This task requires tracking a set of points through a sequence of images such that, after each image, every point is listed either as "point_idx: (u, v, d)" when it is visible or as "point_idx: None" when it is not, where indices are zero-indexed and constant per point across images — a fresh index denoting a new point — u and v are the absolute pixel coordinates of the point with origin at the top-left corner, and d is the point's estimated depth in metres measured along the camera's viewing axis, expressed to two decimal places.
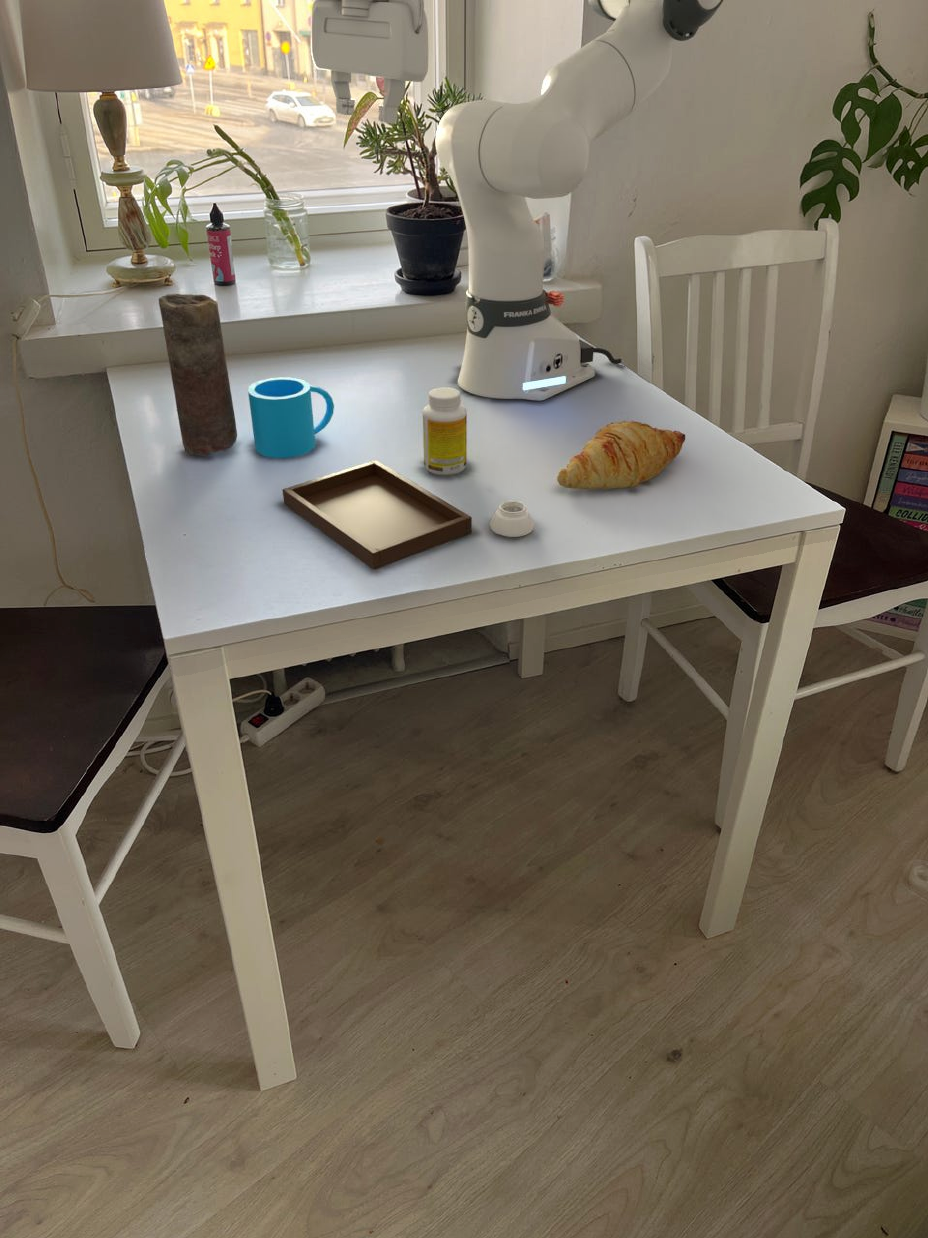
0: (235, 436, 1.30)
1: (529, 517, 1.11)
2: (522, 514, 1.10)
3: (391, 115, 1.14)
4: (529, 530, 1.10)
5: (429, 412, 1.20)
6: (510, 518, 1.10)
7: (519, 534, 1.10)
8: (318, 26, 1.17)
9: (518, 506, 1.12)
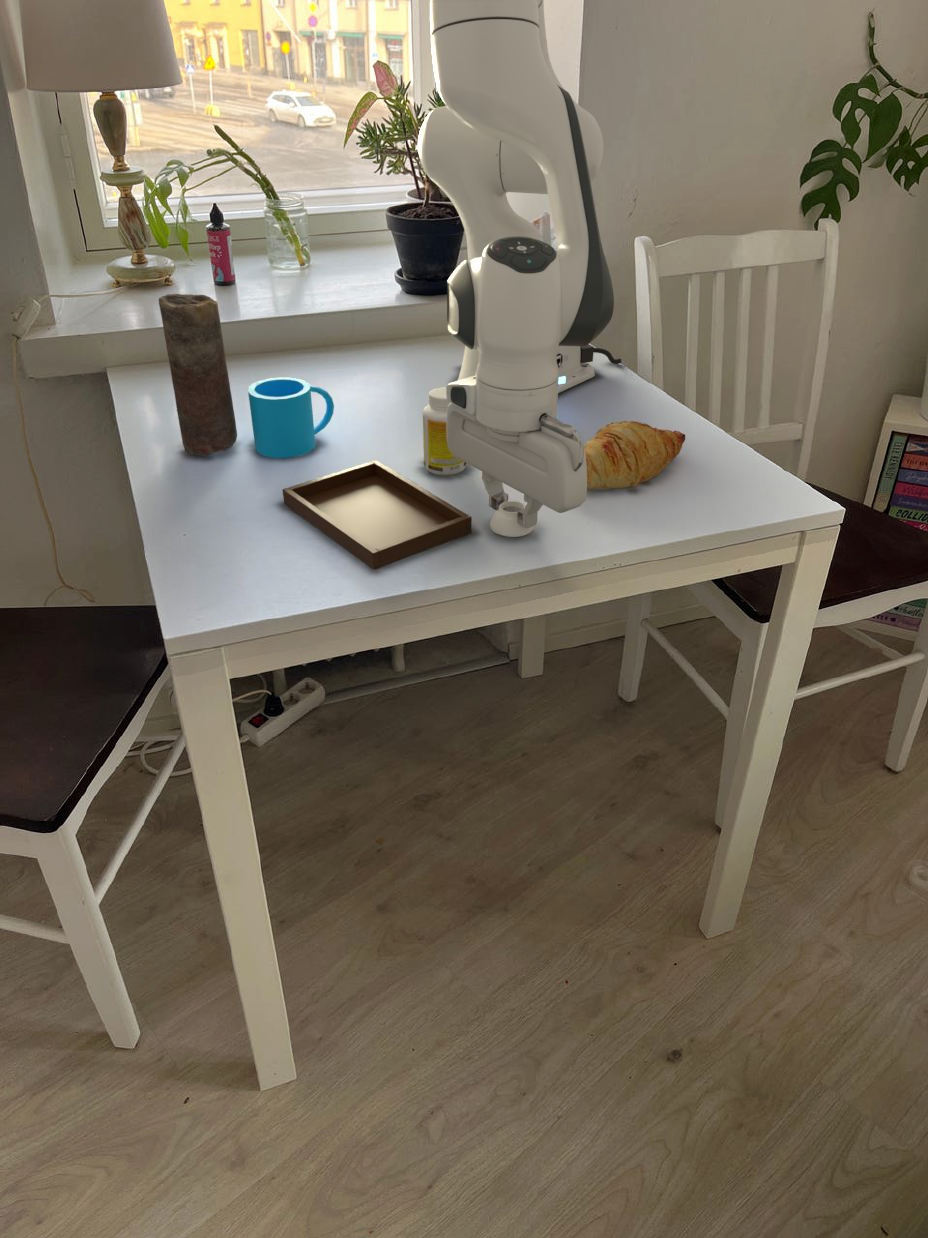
0: (235, 436, 1.30)
1: None
2: None
3: (531, 520, 1.09)
4: (529, 530, 1.10)
5: (429, 412, 1.20)
6: (510, 518, 1.10)
7: (519, 534, 1.10)
8: (455, 424, 1.10)
9: (518, 506, 1.12)
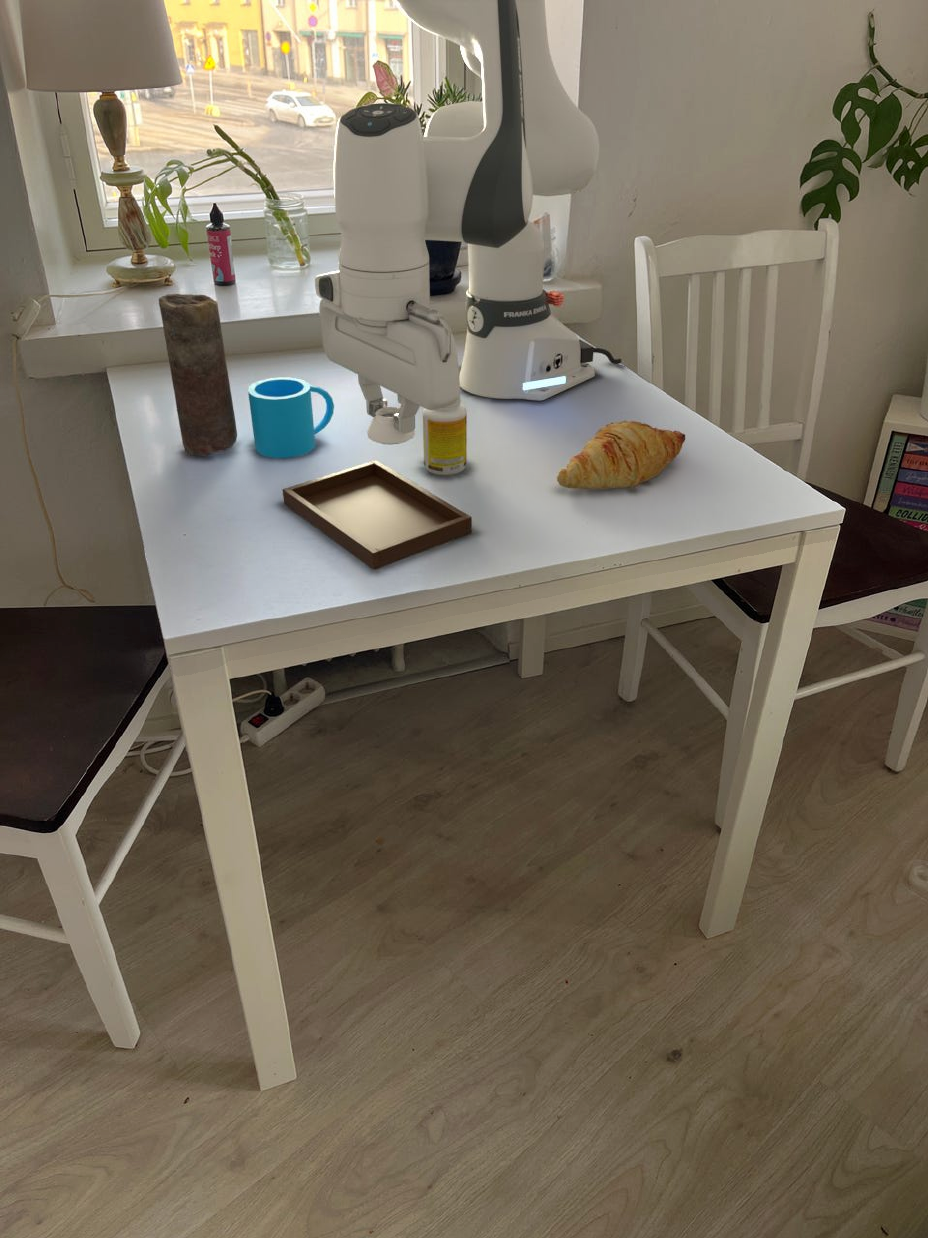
0: (235, 436, 1.30)
1: None
2: None
3: (408, 425, 1.01)
4: (408, 437, 1.02)
5: (429, 412, 1.20)
6: (387, 424, 1.02)
7: (396, 441, 1.02)
8: (328, 323, 1.02)
9: None
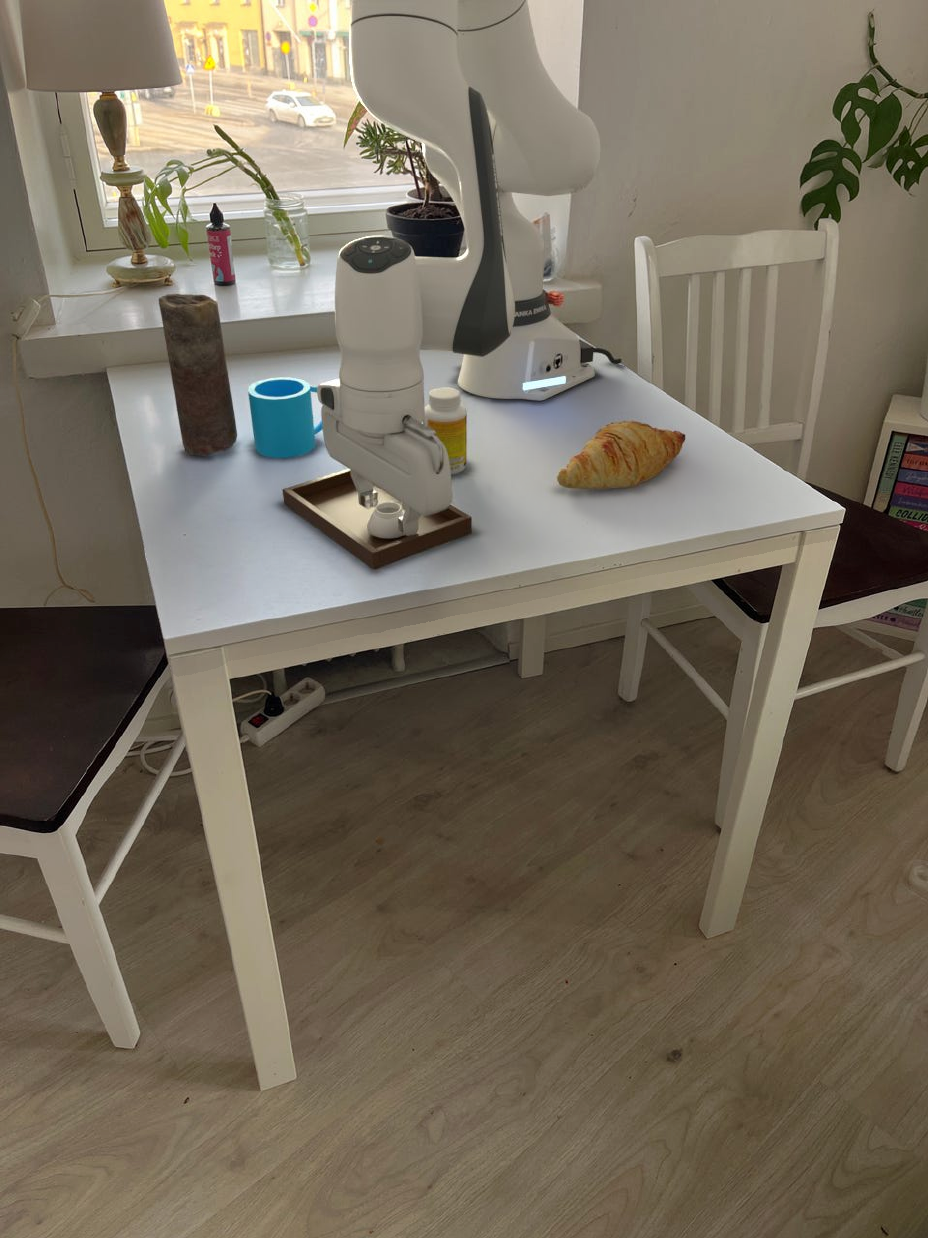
0: (235, 436, 1.30)
1: None
2: (397, 515, 1.08)
3: (412, 528, 1.06)
4: None
5: (429, 412, 1.20)
6: (385, 519, 1.08)
7: (394, 536, 1.08)
8: (330, 425, 1.09)
9: (395, 507, 1.10)
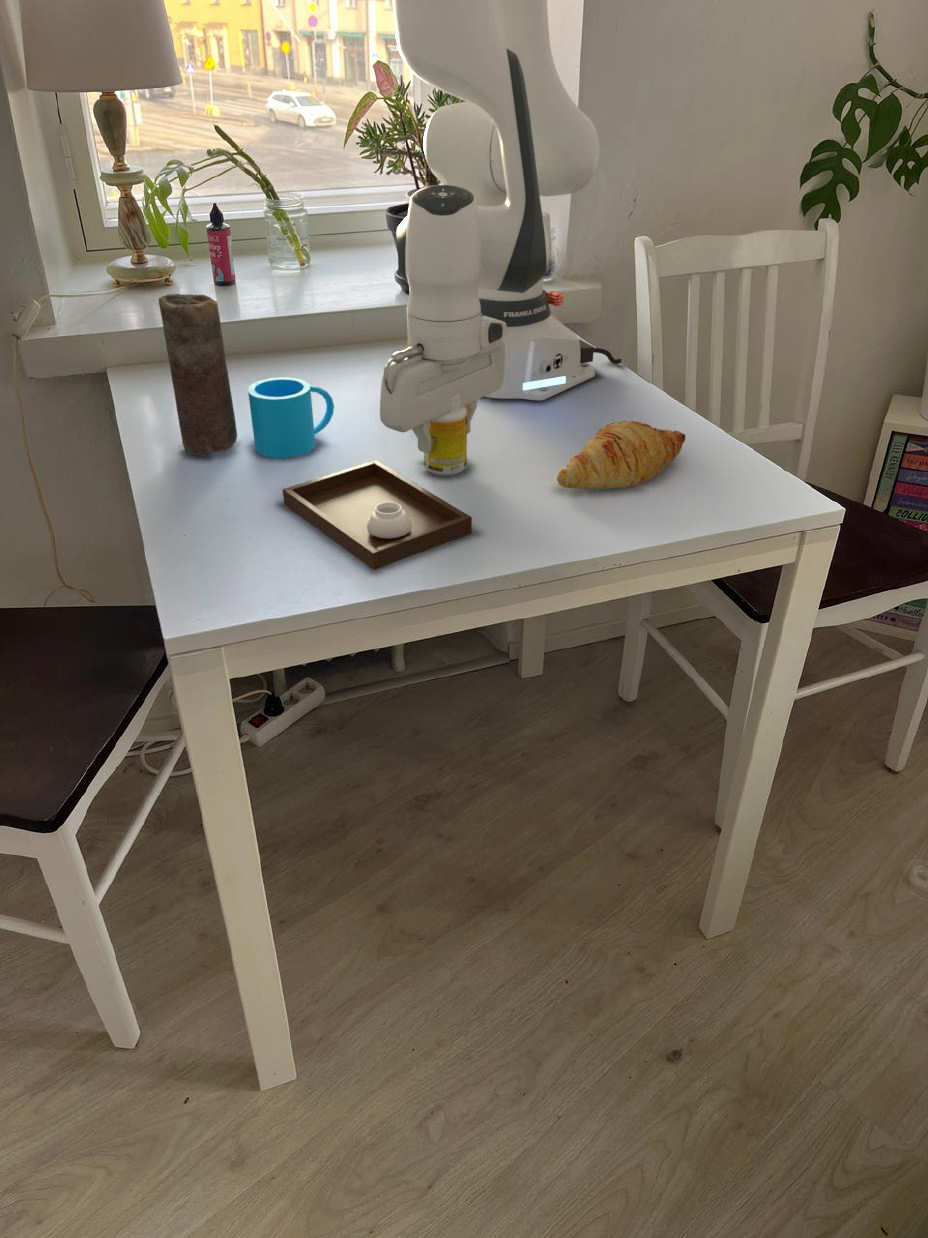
0: (235, 436, 1.30)
1: (405, 518, 1.09)
2: (397, 515, 1.08)
3: (422, 446, 1.21)
4: (405, 532, 1.09)
5: None
6: (385, 519, 1.08)
7: (394, 536, 1.08)
8: None
9: (395, 507, 1.10)
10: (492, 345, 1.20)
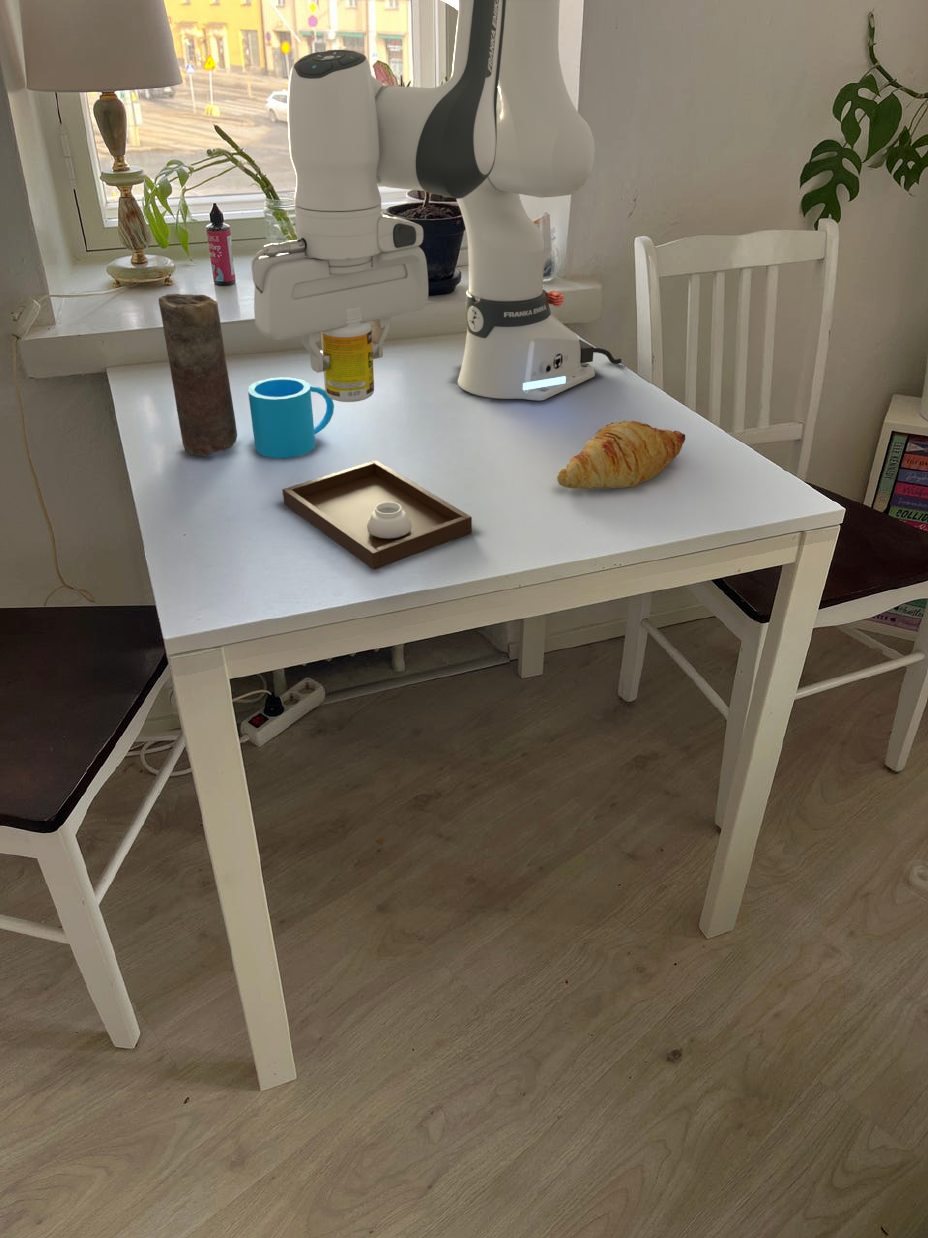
0: (235, 436, 1.30)
1: (405, 518, 1.09)
2: (397, 515, 1.08)
3: (314, 364, 1.05)
4: (405, 532, 1.09)
5: None
6: (385, 519, 1.08)
7: (394, 536, 1.08)
8: None
9: (395, 507, 1.10)
10: (403, 252, 1.03)
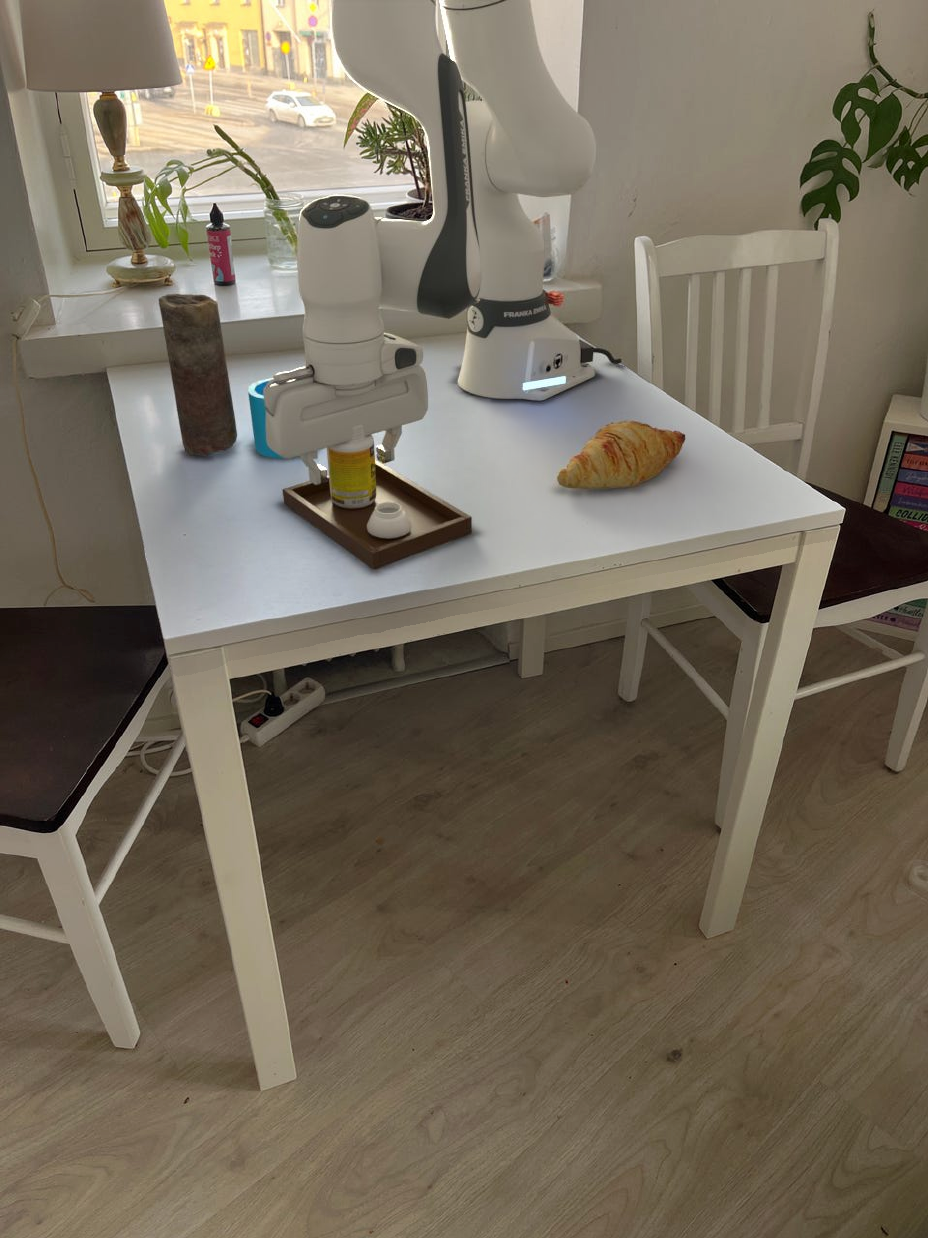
0: (235, 436, 1.30)
1: (405, 518, 1.09)
2: (397, 515, 1.08)
3: (312, 477, 1.11)
4: (405, 531, 1.09)
5: None
6: (385, 519, 1.08)
7: (394, 536, 1.08)
8: None
9: (395, 507, 1.10)
10: (405, 371, 1.10)
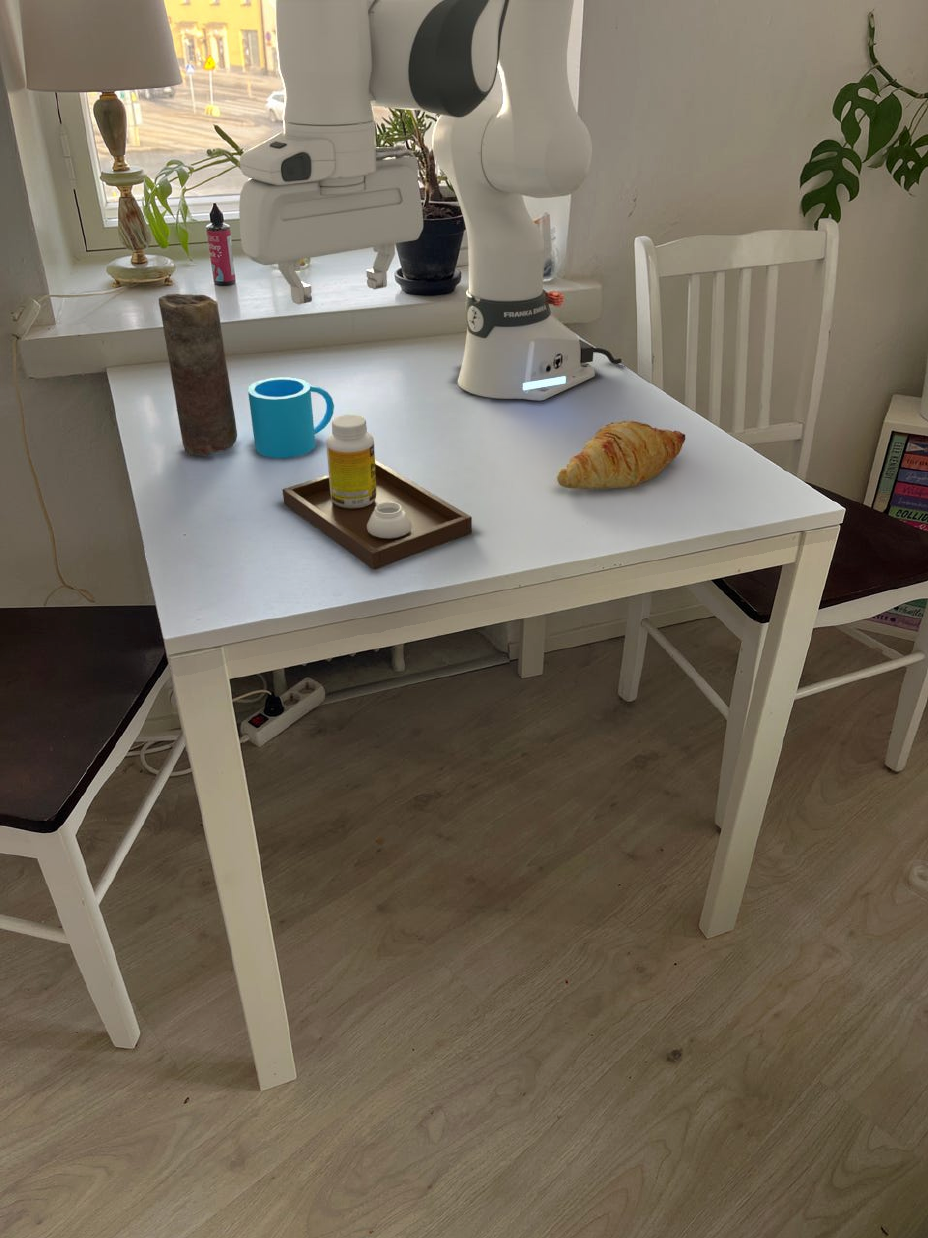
0: (235, 436, 1.30)
1: (405, 518, 1.09)
2: (397, 515, 1.08)
3: None
4: (405, 531, 1.09)
5: (330, 440, 1.11)
6: (385, 519, 1.08)
7: (394, 536, 1.08)
8: (274, 216, 0.93)
9: (395, 507, 1.10)
10: None
